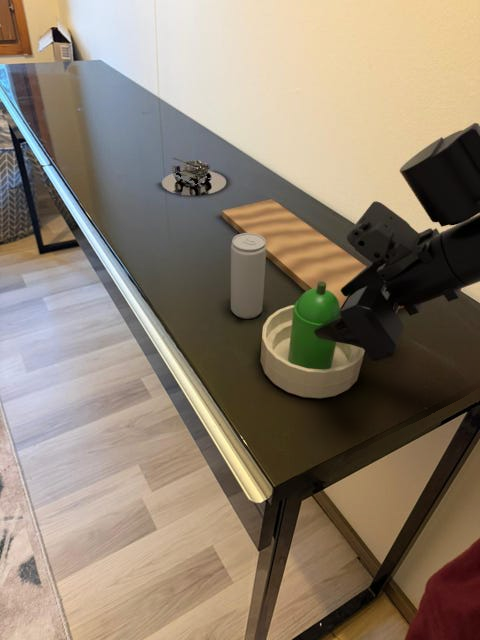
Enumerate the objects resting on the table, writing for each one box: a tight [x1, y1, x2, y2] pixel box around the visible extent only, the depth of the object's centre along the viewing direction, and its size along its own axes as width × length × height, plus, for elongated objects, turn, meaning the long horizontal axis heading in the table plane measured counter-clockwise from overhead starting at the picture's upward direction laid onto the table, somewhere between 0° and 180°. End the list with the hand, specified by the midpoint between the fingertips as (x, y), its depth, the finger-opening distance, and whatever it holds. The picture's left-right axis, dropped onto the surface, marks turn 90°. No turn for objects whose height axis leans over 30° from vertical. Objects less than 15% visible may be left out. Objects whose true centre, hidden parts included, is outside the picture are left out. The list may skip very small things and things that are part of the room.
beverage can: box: [230, 233, 267, 320], centre depth 65 cm, size 5×5×12 cm
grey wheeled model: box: [161, 156, 227, 196], centre depth 105 cm, size 15×15×5 cm
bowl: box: [260, 304, 366, 399], centre depth 59 cm, size 13×13×5 cm
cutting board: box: [221, 198, 405, 311], centre depth 81 cm, size 40×12×2 cm, turn 29°
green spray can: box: [288, 281, 341, 370], centre depth 56 cm, size 6×6×12 cm
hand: (330, 312), depth 54 cm, fingers open, 9 cm apart
